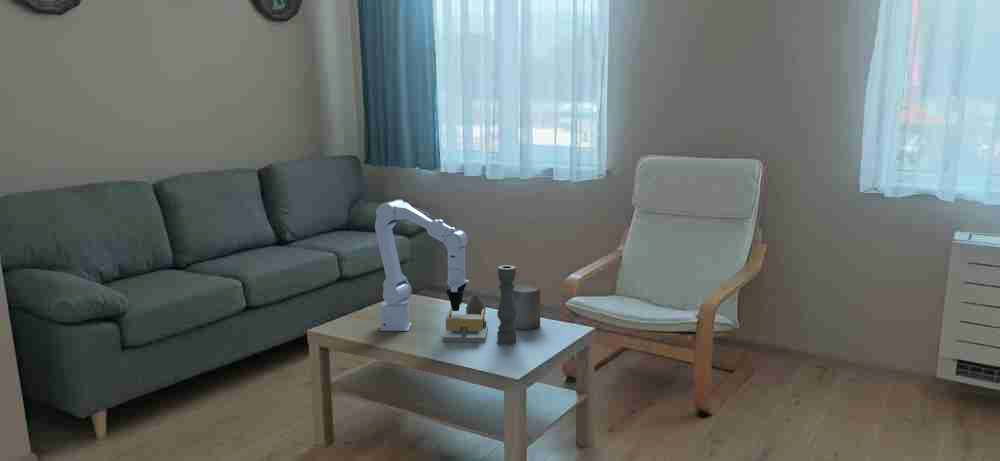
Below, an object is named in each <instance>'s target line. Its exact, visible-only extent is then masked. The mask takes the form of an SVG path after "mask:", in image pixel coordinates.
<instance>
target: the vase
mask: <svg viewBox="0 0 1000 461" xmlns="http://www.w3.org/2000/svg"><path fill="white" fill-rule="evenodd" d="M482 309H484V317H485V316H486V305H485V303H484V302H483V300H482V299H481V298H480V295H472V296H471V298H470V300H469V301H468V302H467V305H466V307H465V312H466V313H465V314H475V315H480V317H481V313H482Z"/></svg>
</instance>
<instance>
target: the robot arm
mask: <svg viewBox="0 0 1000 461" xmlns="http://www.w3.org/2000/svg"><path fill="white" fill-rule="evenodd" d="M375 215H376V218H375V224H374V229H375V234H376V239H377V242H378V243H377V244H378V248H379V252H380V256H381V261H382V265H383V269H384V275H385V279H384V282H383V284H382V288H383V291H382V296H383V300H384V301H385V302H381V305H380V331H385V332H386V331H390V332H392V331H394V332H395V331H396V332H402V331H403V332H407V331H409V330H410V328H411V325H412V324H413V323H412V322H410V320H409V319H410V316H409V313H410V312H409V310H410V309H409V300H410V299H409V298H410V297H411V296H412V292H413V290H412V289H413V288H412V286H411V284H410V283H409V281H408V278H407V276H406V275H404V274H403V273H402V268H401V264H400V259H399V255H398V250H397V246H396V241H395V238H394V232H393V228H394V227H395V225H396V224H397V223H398V222H399V221H402V220H408V221H410V222H412V223H414V224H416V225H418V226H420V227H422V228H424V229H426V231H427V234H428V235H429V236H430V237H432V238H434V239H436V240H438V241H440V242H442V243H443V244H444V247H445V248H446V249H447V282H446V283H447V284H448V286H449V287H450V289H446V291H445V293H446V295H447V297H448V300H449V302H450V307H451V308H450V309H452V312H459V310H460V307H461V305H462V302H463V297H464V292H465V289H466V286H467V284H469V283H470V280H469V279H466V246H467V244H468V241H469V237H468V235H467V233H466V232H465V231H464V230H463V229H456V228H455V227H453V226H452V227H451V226H450V225H448V224H446V223H445V222H444V220H443V219H433V220H432V219H431V218H429V217H427V216H426V215H425V214H423V213H422V212H420V211H419V210H417V209H415V208H414V207H413V206H411V204H409V203H408V202H406V201H404V200H403V199H400V198H397V199H395V200H392V201H387V202H383V203H381V204H380V205H378V208H377V209H376V210H375Z"/></svg>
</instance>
